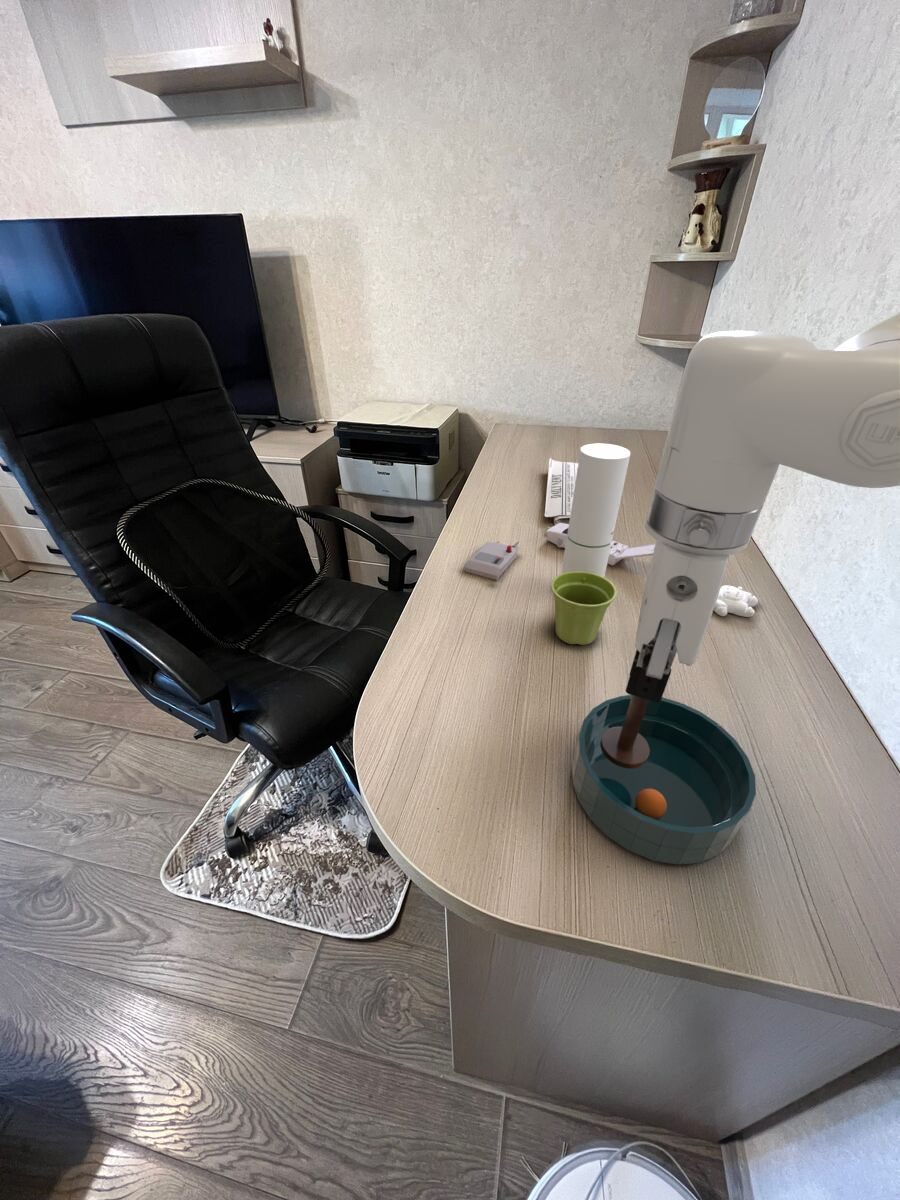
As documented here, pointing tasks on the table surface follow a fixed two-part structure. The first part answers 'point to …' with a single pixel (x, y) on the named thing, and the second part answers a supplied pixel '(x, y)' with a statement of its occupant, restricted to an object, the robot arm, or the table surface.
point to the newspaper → (560, 490)
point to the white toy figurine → (735, 602)
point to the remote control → (491, 560)
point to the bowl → (666, 782)
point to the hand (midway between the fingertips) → (644, 687)
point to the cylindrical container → (595, 507)
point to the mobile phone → (616, 551)
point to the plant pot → (580, 605)
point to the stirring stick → (628, 737)
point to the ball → (651, 803)
